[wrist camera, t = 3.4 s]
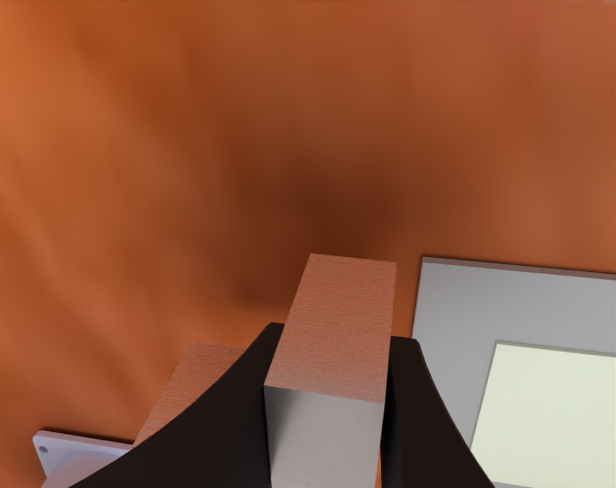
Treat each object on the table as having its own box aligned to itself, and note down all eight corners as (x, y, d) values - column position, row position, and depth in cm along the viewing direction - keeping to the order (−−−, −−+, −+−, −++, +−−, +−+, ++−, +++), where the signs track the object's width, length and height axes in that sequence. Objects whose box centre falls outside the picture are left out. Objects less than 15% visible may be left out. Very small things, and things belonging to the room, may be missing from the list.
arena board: (718, 549, 21) (727, 564, 20) (388, 495, 23) (388, 507, 22) (897, 300, 15) (915, 311, 14) (422, 256, 17) (423, 265, 16)
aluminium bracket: (379, 417, 15) (364, 568, 12) (200, 388, 16) (136, 518, 13) (396, 262, 12) (384, 404, 9) (172, 238, 13) (77, 355, 10)
